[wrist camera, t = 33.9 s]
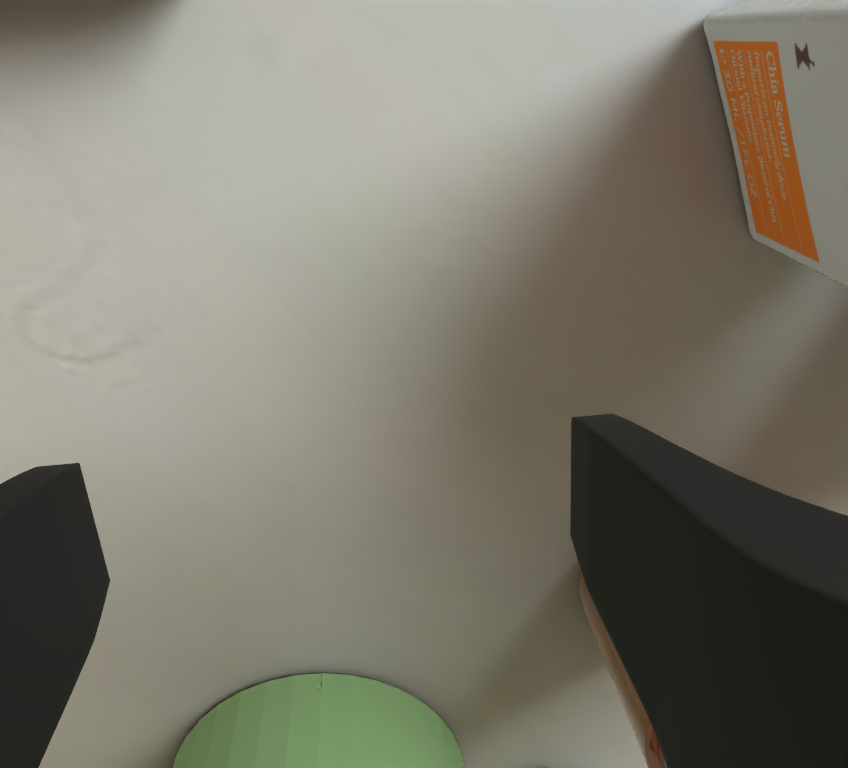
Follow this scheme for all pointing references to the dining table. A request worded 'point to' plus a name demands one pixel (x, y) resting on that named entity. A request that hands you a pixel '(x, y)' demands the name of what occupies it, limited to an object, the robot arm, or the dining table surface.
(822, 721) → the robot arm
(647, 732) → the jar
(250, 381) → the dining table surface
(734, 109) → the cosmetic box
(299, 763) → the mug
